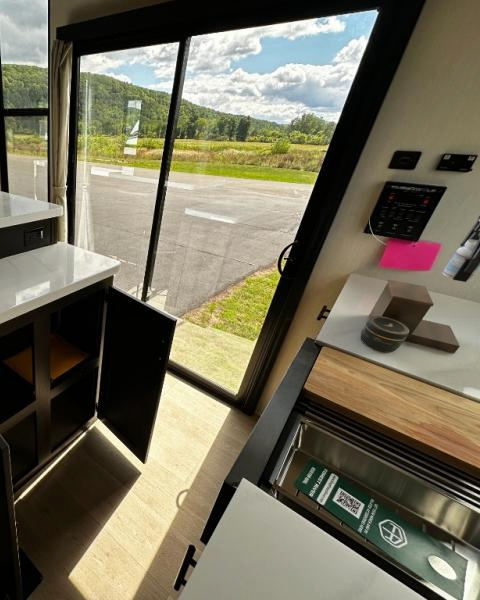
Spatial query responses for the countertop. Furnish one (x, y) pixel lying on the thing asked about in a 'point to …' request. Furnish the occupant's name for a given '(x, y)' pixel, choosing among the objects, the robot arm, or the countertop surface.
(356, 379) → the countertop surface
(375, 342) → the jar
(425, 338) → the step shelf
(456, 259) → the pill bottle
